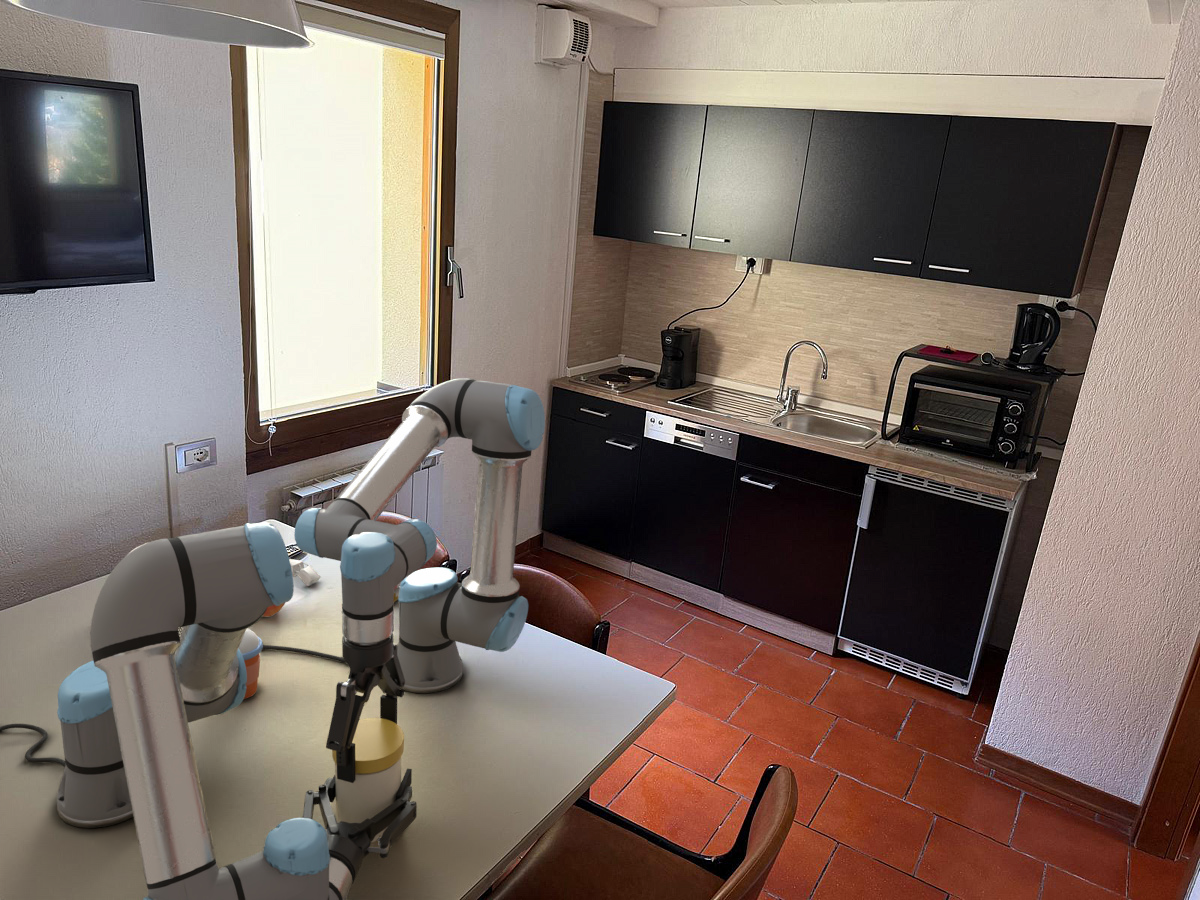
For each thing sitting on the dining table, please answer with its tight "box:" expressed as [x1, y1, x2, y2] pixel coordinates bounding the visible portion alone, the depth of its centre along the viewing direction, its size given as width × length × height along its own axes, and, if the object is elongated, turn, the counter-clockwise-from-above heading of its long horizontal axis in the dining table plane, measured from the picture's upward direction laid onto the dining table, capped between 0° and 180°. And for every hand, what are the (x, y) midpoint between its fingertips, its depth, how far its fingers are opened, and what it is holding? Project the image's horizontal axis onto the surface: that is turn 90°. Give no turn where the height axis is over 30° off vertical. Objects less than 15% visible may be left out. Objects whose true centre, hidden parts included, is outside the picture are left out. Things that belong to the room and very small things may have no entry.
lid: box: [331, 717, 405, 774], centre depth 135 cm, size 11×11×2 cm
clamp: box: [289, 558, 322, 587], centre depth 219 cm, size 20×4×7 cm, turn 62°
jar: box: [334, 757, 402, 842], centre depth 137 cm, size 10×10×16 cm
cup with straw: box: [239, 628, 264, 700], centre depth 168 cm, size 9×9×18 cm
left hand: (376, 772), depth 142 cm, fingers closed on jar, 10 cm apart
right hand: (368, 754), depth 136 cm, fingers open, 12 cm apart
